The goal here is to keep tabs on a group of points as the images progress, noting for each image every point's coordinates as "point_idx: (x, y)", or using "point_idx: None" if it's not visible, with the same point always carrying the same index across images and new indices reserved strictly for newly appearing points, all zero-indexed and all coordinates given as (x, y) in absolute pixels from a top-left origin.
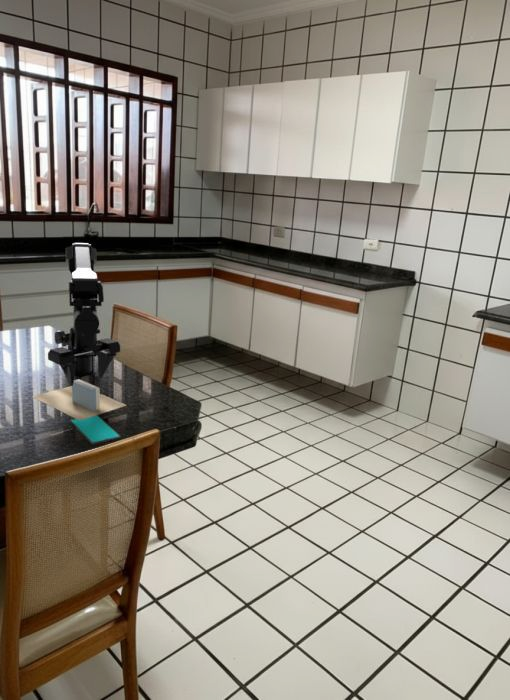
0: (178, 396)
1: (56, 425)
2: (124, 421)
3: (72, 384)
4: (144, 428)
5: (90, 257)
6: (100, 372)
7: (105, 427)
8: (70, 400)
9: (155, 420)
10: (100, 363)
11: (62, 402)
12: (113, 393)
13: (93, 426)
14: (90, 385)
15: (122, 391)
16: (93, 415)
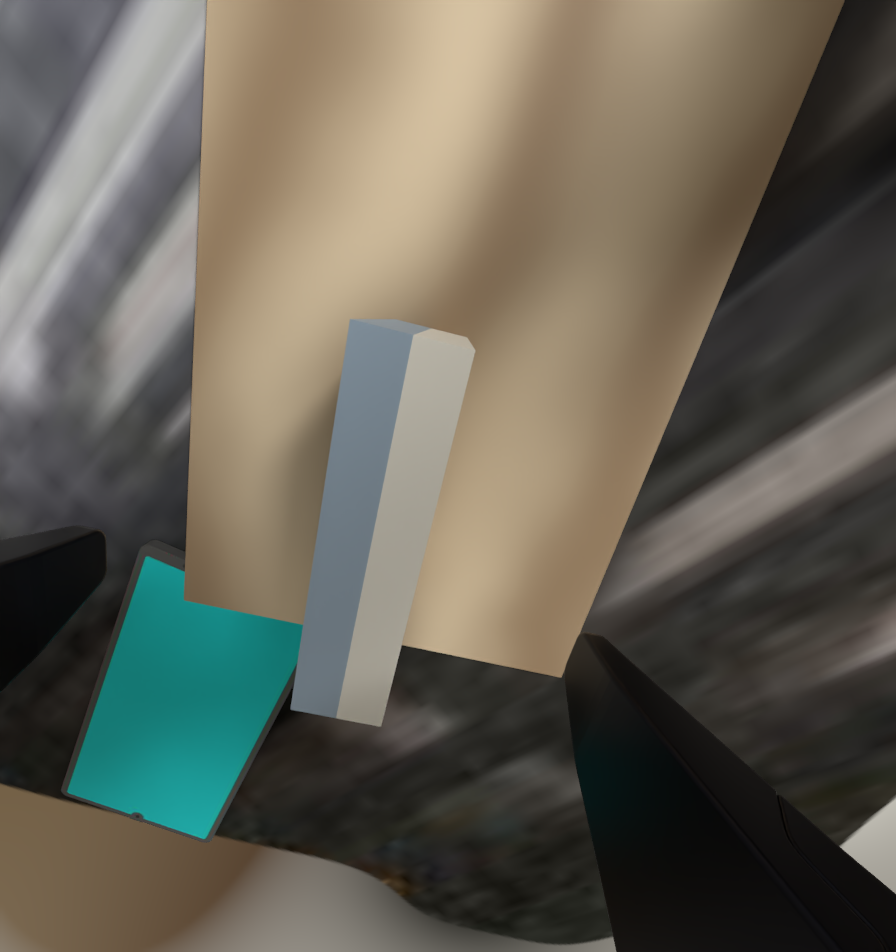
0: (861, 800)
1: (48, 515)
2: (369, 761)
3: (76, 597)
4: (364, 855)
5: None
6: (592, 736)
7: (226, 751)
8: (404, 284)
9: (474, 851)
10: (701, 918)
11: (325, 256)
12: (755, 457)
13: (187, 703)
14: (377, 622)
15: (828, 488)
16: (299, 616)
